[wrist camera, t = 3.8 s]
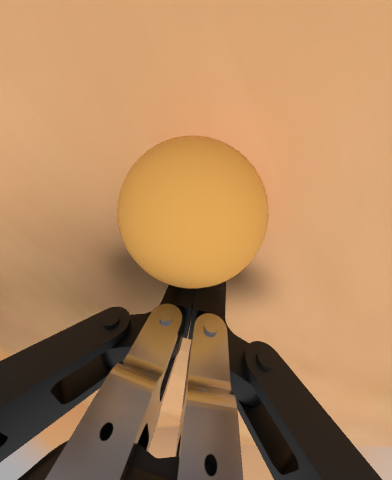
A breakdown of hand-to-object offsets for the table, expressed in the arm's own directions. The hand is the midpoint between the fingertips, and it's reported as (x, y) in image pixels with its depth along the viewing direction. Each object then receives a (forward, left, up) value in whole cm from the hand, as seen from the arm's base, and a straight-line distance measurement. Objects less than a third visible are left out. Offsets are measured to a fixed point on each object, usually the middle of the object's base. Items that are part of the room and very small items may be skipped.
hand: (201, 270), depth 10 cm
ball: (-1, +4, +1) cm, 4 cm away
